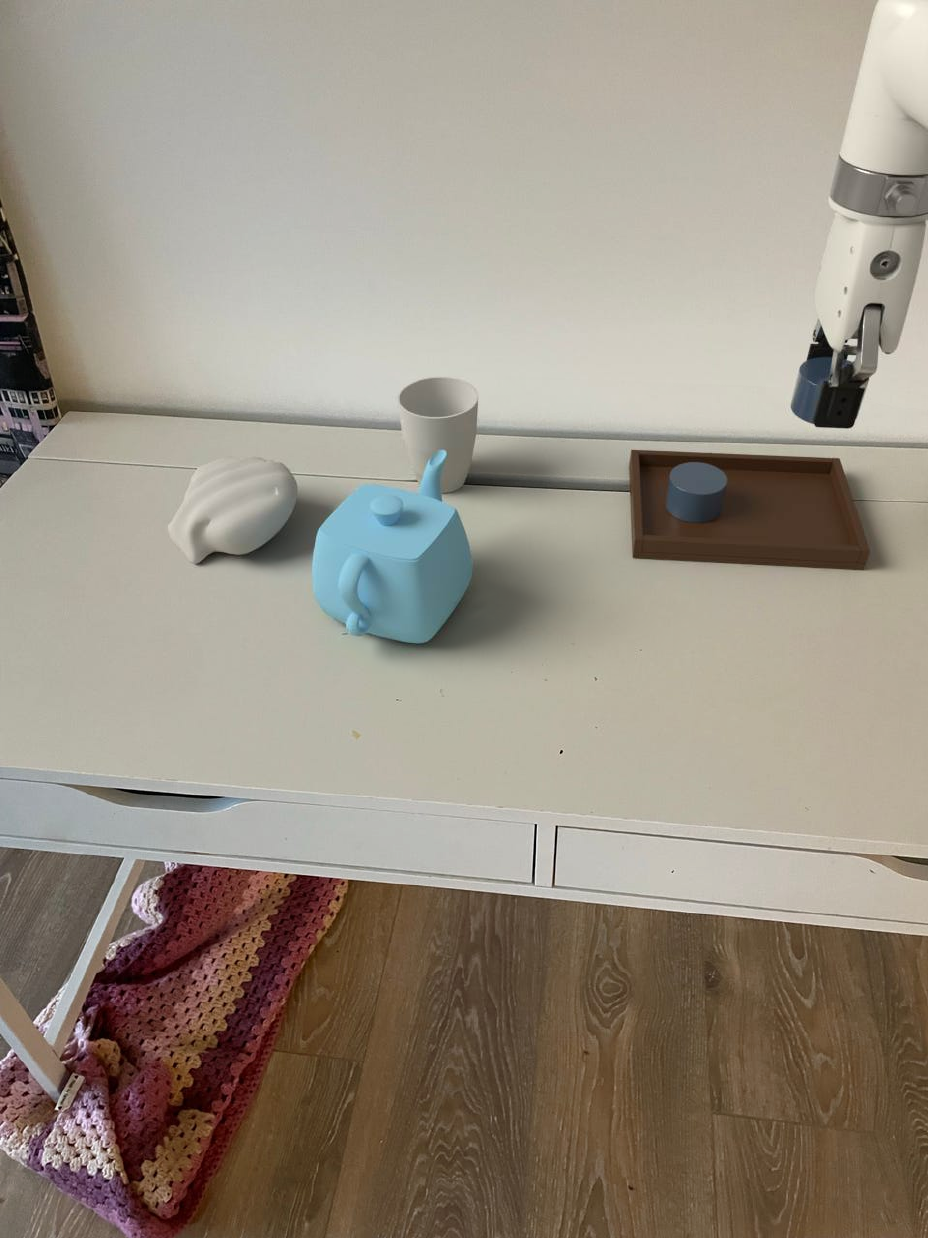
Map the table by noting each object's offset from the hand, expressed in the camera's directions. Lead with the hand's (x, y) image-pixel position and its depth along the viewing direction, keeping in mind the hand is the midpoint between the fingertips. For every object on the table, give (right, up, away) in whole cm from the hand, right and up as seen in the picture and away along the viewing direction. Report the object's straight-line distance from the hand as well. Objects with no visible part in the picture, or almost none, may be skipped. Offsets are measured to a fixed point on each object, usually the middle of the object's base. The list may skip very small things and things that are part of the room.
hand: (826, 404), depth 80 cm
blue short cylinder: (-8, -7, +15) cm, 18 cm away
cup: (-33, -4, +20) cm, 39 cm away
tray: (-3, -8, +15) cm, 17 cm away
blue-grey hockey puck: (0, 0, 0) cm, 1 cm away
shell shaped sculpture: (-54, -10, +15) cm, 57 cm away
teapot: (-37, -16, +7) cm, 41 cm away
